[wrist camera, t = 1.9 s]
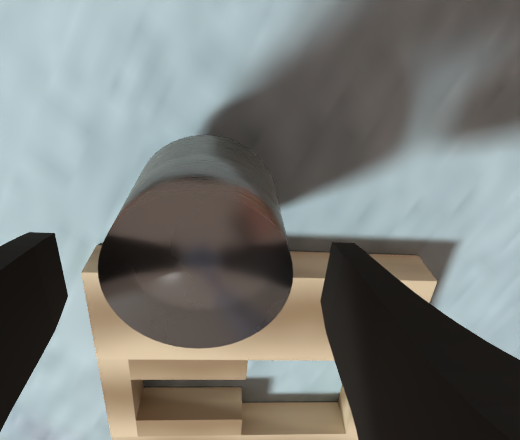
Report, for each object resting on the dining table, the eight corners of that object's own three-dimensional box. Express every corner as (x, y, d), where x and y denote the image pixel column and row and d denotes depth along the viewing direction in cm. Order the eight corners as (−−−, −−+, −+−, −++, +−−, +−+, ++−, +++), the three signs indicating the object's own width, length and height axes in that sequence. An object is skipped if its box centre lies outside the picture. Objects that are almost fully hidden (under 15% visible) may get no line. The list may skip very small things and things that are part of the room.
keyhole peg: (265, 231, 17) (282, 349, 11) (152, 227, 17) (109, 348, 11) (276, 121, 15) (305, 197, 9) (145, 113, 14) (84, 188, 9)
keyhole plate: (353, 449, 26) (361, 480, 24) (128, 452, 25) (120, 486, 23) (418, 255, 18) (437, 281, 17) (96, 245, 17) (81, 272, 15)
